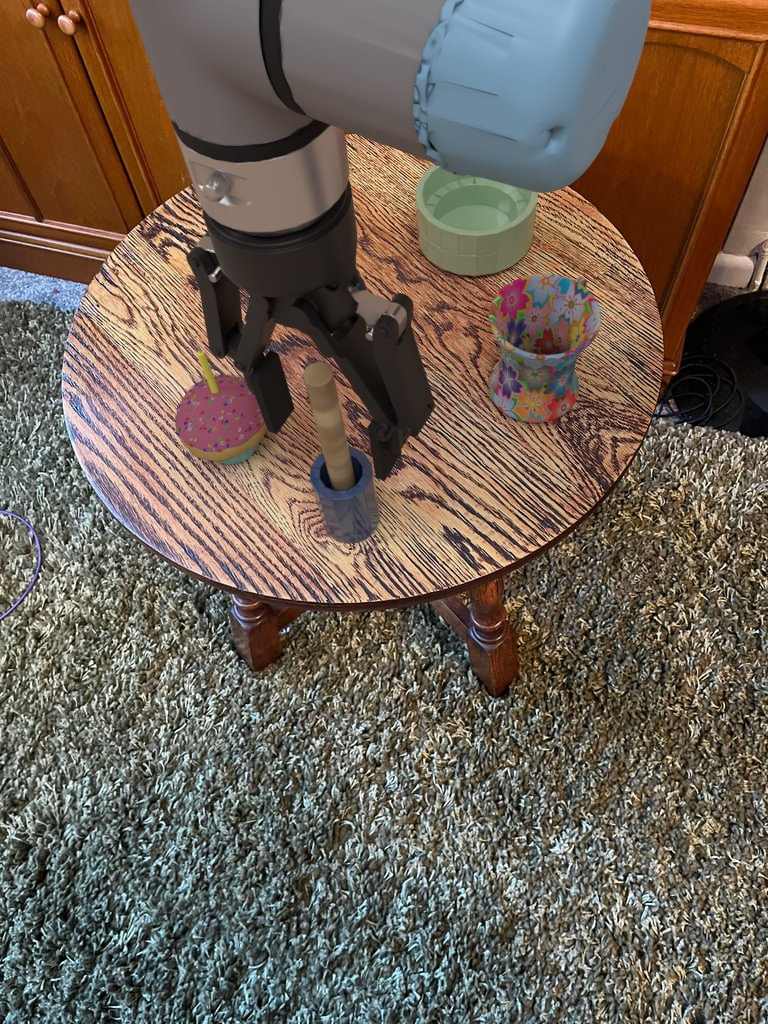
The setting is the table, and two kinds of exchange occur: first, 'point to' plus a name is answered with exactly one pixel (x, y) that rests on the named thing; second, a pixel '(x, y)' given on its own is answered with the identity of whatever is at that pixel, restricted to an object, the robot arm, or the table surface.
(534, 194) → the bowl
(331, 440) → the stick
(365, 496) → the holder
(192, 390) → the cupcake
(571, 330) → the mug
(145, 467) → the table surface
